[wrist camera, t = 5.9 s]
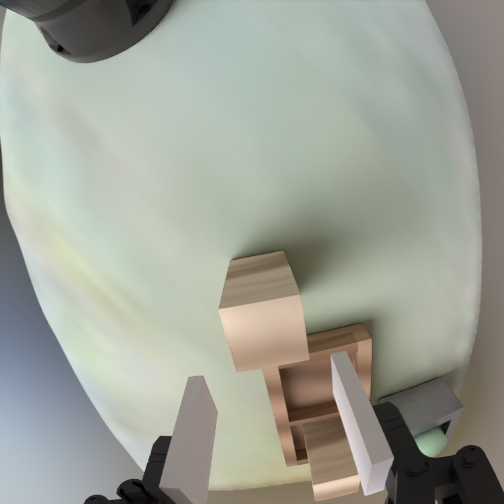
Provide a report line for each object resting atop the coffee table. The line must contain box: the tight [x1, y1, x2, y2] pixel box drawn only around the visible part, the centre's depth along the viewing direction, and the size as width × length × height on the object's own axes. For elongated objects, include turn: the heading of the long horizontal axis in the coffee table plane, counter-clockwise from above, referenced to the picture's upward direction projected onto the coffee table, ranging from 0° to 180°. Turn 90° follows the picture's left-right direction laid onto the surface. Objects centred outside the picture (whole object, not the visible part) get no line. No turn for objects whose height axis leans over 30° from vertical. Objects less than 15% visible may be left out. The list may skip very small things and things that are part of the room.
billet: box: [219, 250, 309, 372], centre depth 23 cm, size 5×5×10 cm
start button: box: [413, 425, 447, 457], centre depth 26 cm, size 6×6×3 cm
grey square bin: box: [378, 377, 464, 451], centre depth 30 cm, size 10×10×7 cm
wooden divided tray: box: [262, 323, 372, 467], centre depth 30 cm, size 20×11×3 cm, turn 11°
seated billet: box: [303, 416, 360, 501], centre depth 27 cm, size 5×5×10 cm
